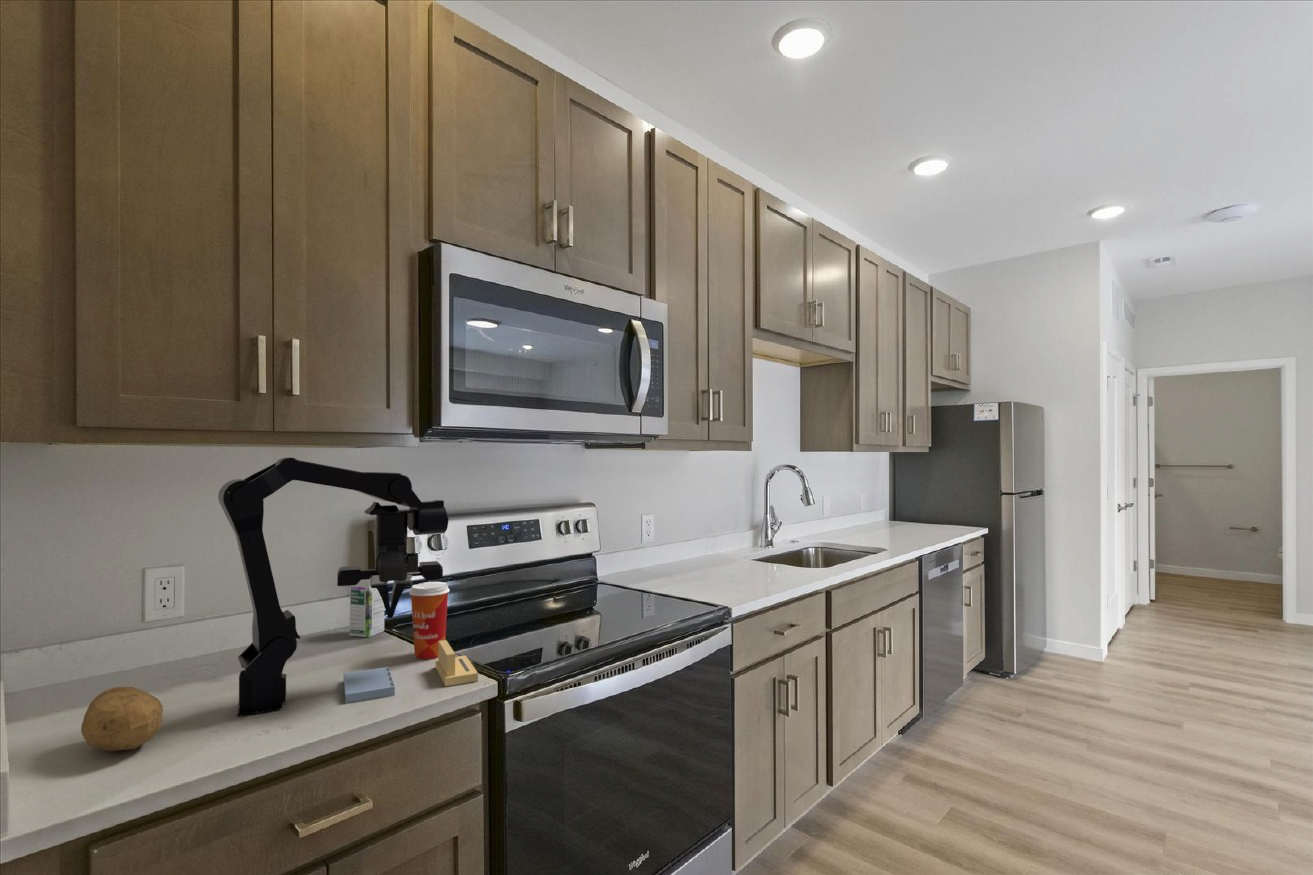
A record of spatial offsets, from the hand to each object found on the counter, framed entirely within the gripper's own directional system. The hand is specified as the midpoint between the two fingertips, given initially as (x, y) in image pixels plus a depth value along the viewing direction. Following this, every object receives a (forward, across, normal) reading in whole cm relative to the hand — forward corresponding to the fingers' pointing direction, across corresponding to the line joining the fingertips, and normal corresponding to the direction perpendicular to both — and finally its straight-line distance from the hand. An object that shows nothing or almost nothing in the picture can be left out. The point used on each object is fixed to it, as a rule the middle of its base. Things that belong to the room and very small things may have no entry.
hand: (390, 617), depth 126 cm
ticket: (+12, -4, -4) cm, 13 cm away
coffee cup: (+12, +9, +12) cm, 19 cm away
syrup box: (+12, -3, +35) cm, 37 cm away
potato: (+13, -38, -14) cm, 42 cm away
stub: (+12, +12, -3) cm, 17 cm away
